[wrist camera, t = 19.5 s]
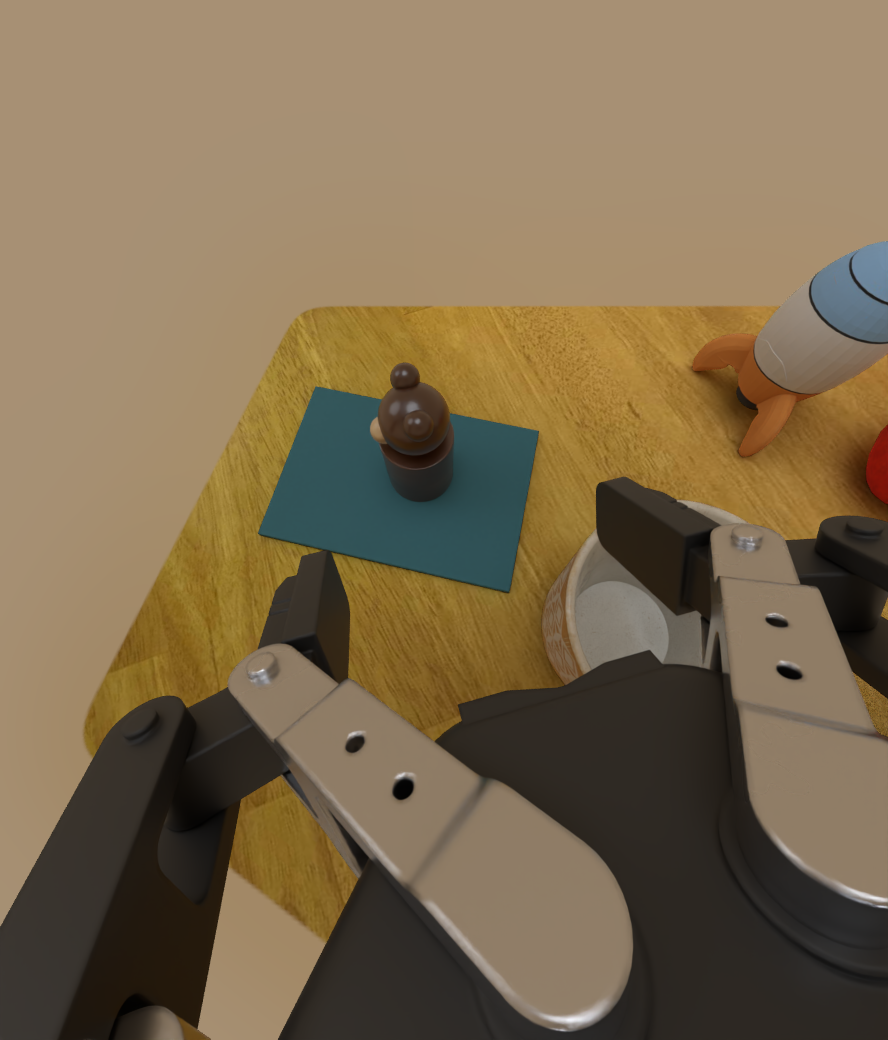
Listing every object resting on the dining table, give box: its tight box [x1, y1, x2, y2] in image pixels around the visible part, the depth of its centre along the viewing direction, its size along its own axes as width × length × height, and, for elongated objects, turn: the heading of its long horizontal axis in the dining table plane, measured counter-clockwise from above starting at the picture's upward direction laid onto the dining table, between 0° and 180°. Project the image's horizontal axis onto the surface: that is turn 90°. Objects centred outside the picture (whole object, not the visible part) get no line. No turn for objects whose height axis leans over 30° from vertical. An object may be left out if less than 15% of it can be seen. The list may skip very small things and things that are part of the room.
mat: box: [258, 387, 539, 593], centre depth 34 cm, size 20×14×1 cm
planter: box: [541, 500, 750, 685], centre depth 25 cm, size 13×13×10 cm
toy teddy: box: [370, 363, 454, 502], centre depth 29 cm, size 6×5×11 cm
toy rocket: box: [692, 241, 888, 457], centre depth 30 cm, size 10×11×15 cm
